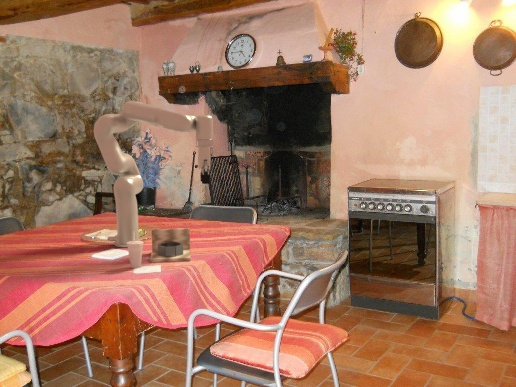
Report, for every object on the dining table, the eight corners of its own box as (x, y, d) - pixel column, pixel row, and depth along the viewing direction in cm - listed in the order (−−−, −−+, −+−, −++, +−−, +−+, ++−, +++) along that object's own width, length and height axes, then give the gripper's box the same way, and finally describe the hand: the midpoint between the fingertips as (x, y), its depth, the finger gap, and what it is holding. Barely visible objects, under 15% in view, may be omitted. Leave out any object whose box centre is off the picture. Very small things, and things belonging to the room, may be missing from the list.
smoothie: (137, 263, 206) (136, 229, 204) (147, 266, 201) (146, 230, 200) (123, 267, 201) (122, 231, 199) (134, 270, 197) (132, 233, 195)
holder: (150, 262, 208) (149, 237, 206) (152, 252, 223) (151, 229, 222) (190, 260, 210) (189, 235, 208) (190, 251, 226) (189, 228, 224)
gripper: (194, 143, 236) (195, 180, 238) (197, 144, 219) (197, 184, 221) (211, 143, 237) (211, 180, 240) (214, 144, 220) (215, 184, 223)
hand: (204, 182), depth 230 cm, fingers open, 9 cm apart
